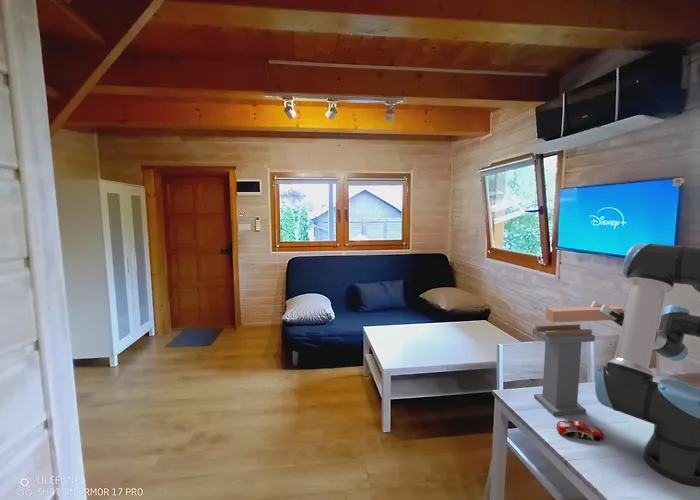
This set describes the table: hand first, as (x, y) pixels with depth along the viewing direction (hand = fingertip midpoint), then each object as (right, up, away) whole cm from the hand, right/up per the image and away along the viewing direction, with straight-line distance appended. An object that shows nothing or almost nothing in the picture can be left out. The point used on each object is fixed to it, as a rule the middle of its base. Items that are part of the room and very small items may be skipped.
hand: (597, 306), depth 135 cm
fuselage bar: (-5, -5, 0) cm, 7 cm away
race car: (-15, -40, -14) cm, 44 cm away
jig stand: (-12, -37, +3) cm, 39 cm away
